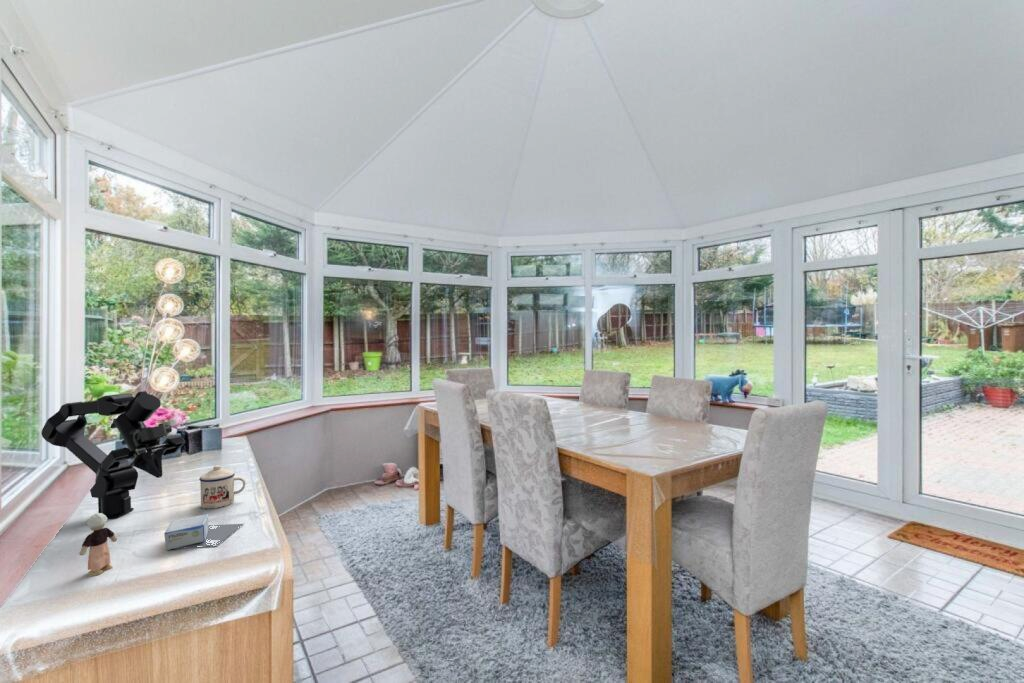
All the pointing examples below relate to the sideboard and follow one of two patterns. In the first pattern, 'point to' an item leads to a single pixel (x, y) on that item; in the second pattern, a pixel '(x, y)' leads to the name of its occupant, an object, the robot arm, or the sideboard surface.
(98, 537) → the grandmother figurine
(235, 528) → the rubber mat
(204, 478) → the teacup with lid
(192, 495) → the sideboard surface
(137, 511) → the sideboard surface
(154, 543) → the sideboard surface
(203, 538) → the medicine box
